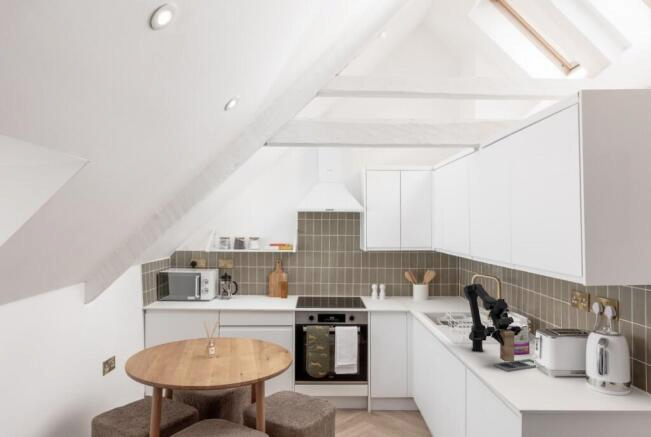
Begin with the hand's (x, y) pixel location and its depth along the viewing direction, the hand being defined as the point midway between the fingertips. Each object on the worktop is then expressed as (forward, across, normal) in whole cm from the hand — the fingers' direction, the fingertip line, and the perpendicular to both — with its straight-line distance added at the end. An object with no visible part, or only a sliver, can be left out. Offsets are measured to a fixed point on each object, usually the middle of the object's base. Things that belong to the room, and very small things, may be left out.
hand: (508, 345), depth 221 cm
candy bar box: (-9, +21, +27) cm, 36 cm away
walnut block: (+4, 0, +6) cm, 8 cm away
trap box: (+6, +8, +11) cm, 15 cm away
